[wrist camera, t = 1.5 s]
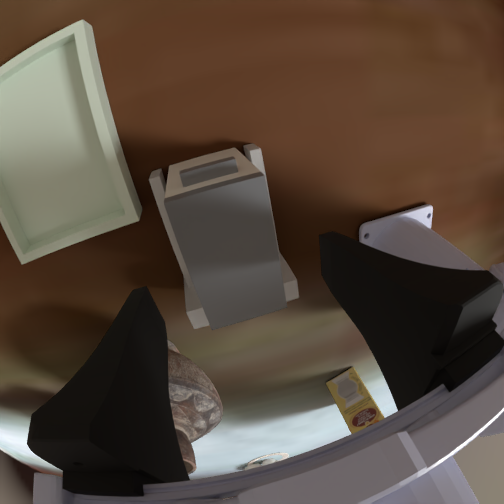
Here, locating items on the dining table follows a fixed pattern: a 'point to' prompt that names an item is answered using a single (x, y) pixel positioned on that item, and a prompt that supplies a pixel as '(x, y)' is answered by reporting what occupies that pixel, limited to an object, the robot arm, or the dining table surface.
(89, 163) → the tray
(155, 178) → the bay
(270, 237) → the block
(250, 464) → the white headphones
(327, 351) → the dining table surface
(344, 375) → the candy box
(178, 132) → the dining table surface
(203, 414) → the pottery
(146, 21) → the dining table surface
